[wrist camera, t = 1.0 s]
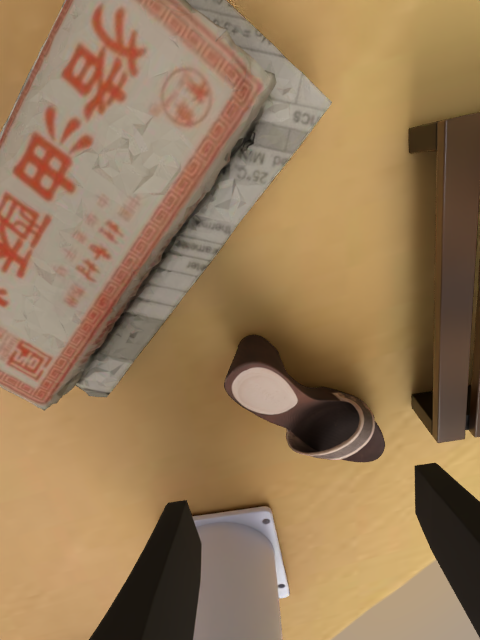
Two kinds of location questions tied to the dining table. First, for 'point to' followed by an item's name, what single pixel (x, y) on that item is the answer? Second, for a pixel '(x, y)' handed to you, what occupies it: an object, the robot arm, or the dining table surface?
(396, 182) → the dining table surface
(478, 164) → the slatted bench
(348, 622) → the dining table surface
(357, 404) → the heeled mule
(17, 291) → the packaged product
